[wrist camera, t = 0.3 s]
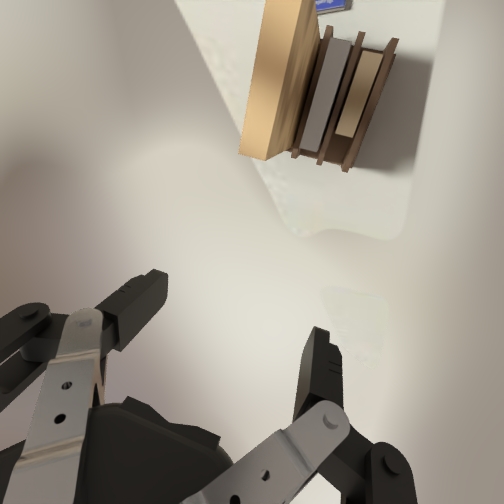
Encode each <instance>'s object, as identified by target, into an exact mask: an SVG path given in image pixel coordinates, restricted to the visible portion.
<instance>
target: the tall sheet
mask: <svg viewBox="0 0 504 504" xmlns="http://www.w3.org/2000/svg"><path fill="white" fill-rule="evenodd" d="M320 49H321V40H320V33H319V26H318V18H317V11H316V3H315V0H266V2H265V7H264V13H263V19H262V24H261V30H260V35H259V41H258V47H257V52H256V58H255V63H254V69H253V75H252V80H251V86H250V92H249V97H248V103H247V108H246V114H245V120H244V125H243V131H242V136H241V142H240V148H239V154H242V155H245V156H249V157H253V158H256V159H260V160H264V161H266V160H268V159H270V158H272V157H274V156H276V155H278V154H279V153H281V152H283V151H285V150H287V149H289V148H291V147H293V146H294V144H295V140H296V136H297V133H298V129H299V125H300V122H301V118H302V114H303V111H304V107H305V103H306V100H307V96H308V92H309V89H310V85H311V81H312V78H313V74H314V70H315V67H316V63H317V60H318V56H319V52H320Z"/></svg>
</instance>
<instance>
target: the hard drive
mask: <svg viewBox="0 0 504 504" xmlns="http://www.w3.org/2000/svg"><path fill="white" fill-rule="evenodd" d="M345 2H346V0H315V3H316V11H317V15H318V14H323V13H329V12H334V11H340V10H345Z"/></svg>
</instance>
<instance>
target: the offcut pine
mask: <svg viewBox="0 0 504 504" xmlns="http://www.w3.org/2000/svg"><path fill="white" fill-rule="evenodd" d="M382 57H383V54H378V53H373V52H368V51H363V52H362V55H361V57H360V60H359V62H358V65H357V67H356V70H355V73H354V76H353V79H352V82H351V85H350V88H349V91H348V94H347V97H346V100H345V103H344V106H343V109H342V112H341V115H340V118H339V121H338V124H337V127H336V130H335V133H336V134H340V135H344V136H348V137H352V138H353V135H354V132H355V130H356V127H357V124H358V122H359V119H360V116H361V114H362V111H363V108H364V105H365V103H366V100H367V97H368V95H369V92H370V89H371V87H372V84H373V81H374V78H375V76H376V73H377V70H378V68H379V65H380V62H381V60H382Z"/></svg>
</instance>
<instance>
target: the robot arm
mask: <svg viewBox="0 0 504 504" xmlns="http://www.w3.org/2000/svg"><path fill="white" fill-rule="evenodd" d="M167 292H168V274H167V273H164V272H162V271H159V270H156V269H153V270H151V271H150V272H149V273H147V274H146V275H145V276H144V275H139V276H137V277H134V278H132V279H130V280H129V281H128V282H126V283H125V284H124V286H121V287H120V288H119V289H118V290H116V291H115V292H114V293H112V294H111V295H110V296H109V297H107V298H106V299H105V300H104V301H103V302H101V303H100V304H98V305H97V306H96V307H95V308H85V309H80V310H78V311H75V312H73V313H72V314H71V315H65V314H54V313H51V312H50V309H49V307H48V305H46V304H44V303H28V304H25V305H22V306H20V307H17V308H16V309H14V310H12V311H11V312H9V313H8V314H6V315H5V316H3V317H2V318H0V363H1V362H3V361H4V360H5V359H6V358H8V357H9V356H10V355H11V354H13V353H14V352H15V351H17V350H18V349H19V351H18V352H17V353H16V354H14V355H13V356H12V357H11V358H9V359H8V360H7V361H6V362H4V363H3V364H2V365H1V366H0V412H1V411H3V410H4V409H5V408H6V407H7V406H8V405H9V404H10V403H11V402H12V401H13V400H14V399H15V398H16V397H17V396H18V395H20V394H21V393H22V392H23V391H24V390H25V389H26V388H27V387H28V386H29V385H30V384H31V383H32V382H33V381H34V380H35V379H36V378H37V377H39V375H41V374H42V373H43V372H44V371H45V370H46V372H45V376H44V379H43V383H42V386H41V390H40V393H39V397H38V400H37V404H36V407H35V410H34V414H33V417H32V421H31V424H30V428H29V431H28V435H27V438H26V439H25V440H23V441H21V442H19V443H17V444H15V445H13V446H11V447H9V448H6V449H4V450H2V451H0V504H289V503H290V502H291V501H292V500H293V499H294V498H295V497H296V496H297V495H298V493H300V491H301V490H302V489H303V488H304V487H305V486H306V485H307V484H308V483H309V482H310V481H311V480H312V479H313V478H314V477H315V476H316V475H317V473H319V474H321V475H322V476H323V477H324V478H325V479H326V480H327V481H328V482H330V483H331V484H332V485H333V486H334V487H335V488H336V489H337V490H339V491H340V492H341V504H418V503H417V497H416V491H415V486H414V479H413V474H412V470H411V468H410V465H409V463H408V462H407V460H406V458H405V457H404V456H403V454H401V452H400V451H399V450H398V449H396V448H395V447H394V446H392V445H390V444H388V443H386V442H378V443H375V444H373V443H371V442H370V441H369V440H368V439H366V438H365V437H364V436H362V435H361V434H360V433H359V432H357V431H356V430H355V429H354V428H353V427H352V425H351V424H350V423H349V419H348V417H347V415H346V413H345V412H344V407H343V378H342V377H343V376H342V355H341V353H340V351H339V348H338V346H336V345H333V344H331V343H329V338H330V333H329V331H327V330H324V329H321V328H318V327H315V326H314V327H313V329H312V331H311V334H310V336H309V338H308V340H307V343H306V345H305V347H304V350H303V354H302V358H301V364H300V372H299V379H298V386H297V393H296V401H295V407H294V415H293V422H292V424H291V425H290V426H289V427H287V428H286V429H284V430H281V429H280V430H278V431H276V432H274V433H273V434H272V435H271V436H269V437H268V438H267V439H265V440H264V441H263V442H262V443H260V444H259V445H258V446H257V447H255V448H254V449H253V450H251V451H250V452H249V453H248V454H246V455H245V456H244V457H243V458H241V459H240V460H239V461H237V462H236V463H235V464H234V463H233V461H232V460H231V458H230V457H229V456H228V454H227V453H226V452H225V451H224V449H223V448H222V447H220V446H219V441H220V438H221V437H220V436H218V435H216V434H213V433H211V432H209V431H207V430H204V429H202V428H200V427H197V426H191V425H183V424H174V423H169V422H168V421H167V420H165V419H164V418H163V417H162V416H161V415H160V414H159V413H157V412H156V411H155V410H154V409H153V408H152V407H151V406H150V405H148V404H145V403H143V402H141V401H138V400H136V399H134V398H131V397H129V396H127V398H126V399H125V400H124V401H123V403H109V404H105V382H106V371H107V359H108V355H107V354H108V353H109V352H110V351H111V350H112V349H115V350H117V351H120V352H121V351H122V350H123V349H124V348H125V347H126V346H127V345H128V344H129V342H130V341H131V340H132V339H133V338H134V337H135V336H136V335H137V334H138V333H139V331H140V330H141V329H142V328H143V327H144V326H145V325H146V324H147V323H148V322H149V321H150V320H151V318H152V317H153V316H154V315H155V314H156V313H157V312H158V311H159V310H160V308H161V307H162V306H163V305H164V303H165V301H166V299H167Z"/></svg>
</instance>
